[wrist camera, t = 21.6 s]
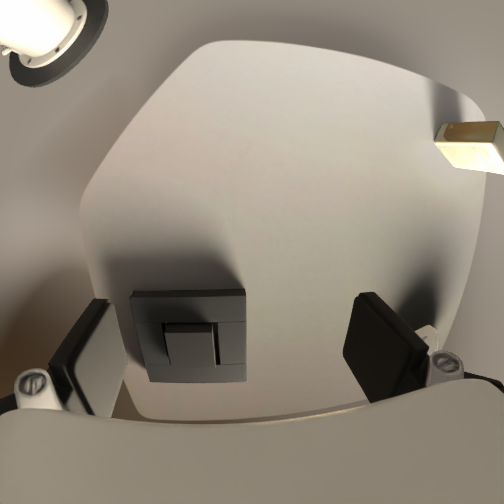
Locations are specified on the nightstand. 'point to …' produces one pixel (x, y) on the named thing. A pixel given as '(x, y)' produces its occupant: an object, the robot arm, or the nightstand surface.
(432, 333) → the computer mouse
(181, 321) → the frame pad
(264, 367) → the nightstand surface
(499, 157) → the cosmetic box
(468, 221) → the nightstand surface
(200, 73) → the nightstand surface
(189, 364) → the dark grey square block
